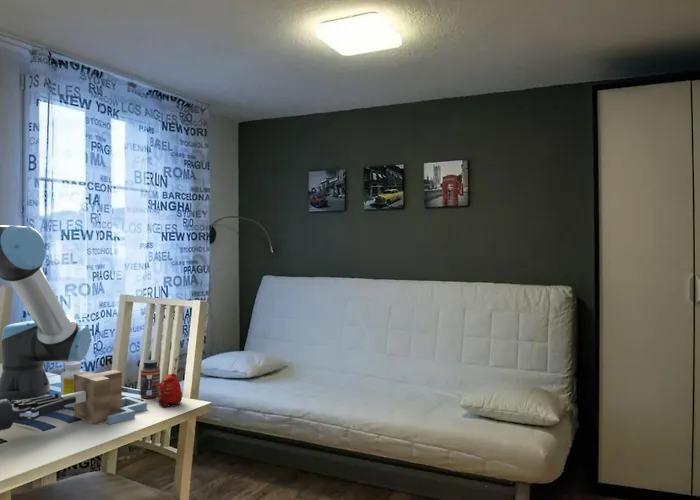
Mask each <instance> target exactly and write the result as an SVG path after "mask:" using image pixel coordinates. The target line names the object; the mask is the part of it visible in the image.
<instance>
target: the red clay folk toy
mask: <svg viewBox="0 0 700 500" xmlns="http://www.w3.org/2000/svg"><path fill="white" fill-rule="evenodd" d="M177 355H178V356H176V358H173V359H174V362H175V363H174V366H173V373H171V374H170V373H169V374H167V375H166V376H164V377H163V378H162V381H160V388H159V392H158V396H157V399H158V405H160V406H161V407H162V408H167V407H169V406H170V407H175V406H177V405H178V404H180V403H181V402H182V399H183V398H182V397H183V392H182V388H181V384H180V382H179V379H178V377H177V374H176V373H175V372H176V371H175V370H176V369H177V367H176V365H177V362H178V360H180V358H179V356H180V354H177Z"/></svg>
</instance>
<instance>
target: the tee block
mask: <svg viewBox="0 0 700 500" xmlns="http://www.w3.org/2000/svg"><path fill="white" fill-rule="evenodd" d="M122 374H123V373H122V371H120V370H116V369H112V370H107V371H103V372H102V371H101V372H95V373H94V372H91V371H84V372H82V373H77V374H74V393H75V392H79V391H86V401H85V402H81V403H76V404H74V407H73V417H76V418H79V419H81V420H84V421H86V422H88V423H91V424H94V425H100V424H103V423H107V416H109V415H113V414H117V413H119V408H121V407H123V406H122V398H123V394H122V393H123V391H122V390H123V389H122V388H123V387H122V386H123V385H122V384H123V383H122V381H123V380H122V379H123V378H122V377H123V375H122Z"/></svg>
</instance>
